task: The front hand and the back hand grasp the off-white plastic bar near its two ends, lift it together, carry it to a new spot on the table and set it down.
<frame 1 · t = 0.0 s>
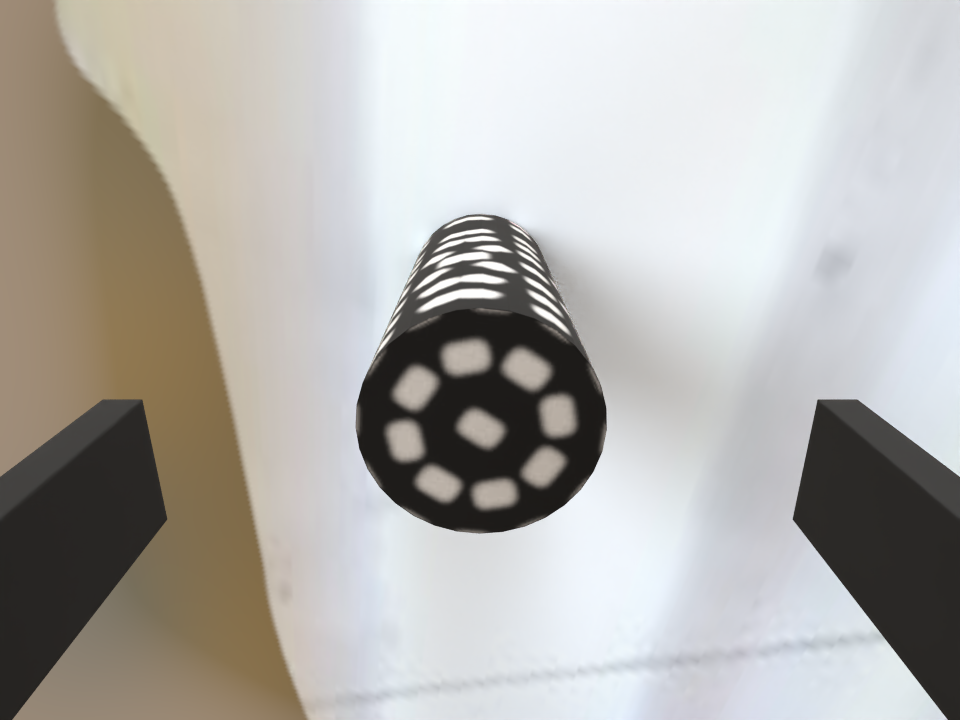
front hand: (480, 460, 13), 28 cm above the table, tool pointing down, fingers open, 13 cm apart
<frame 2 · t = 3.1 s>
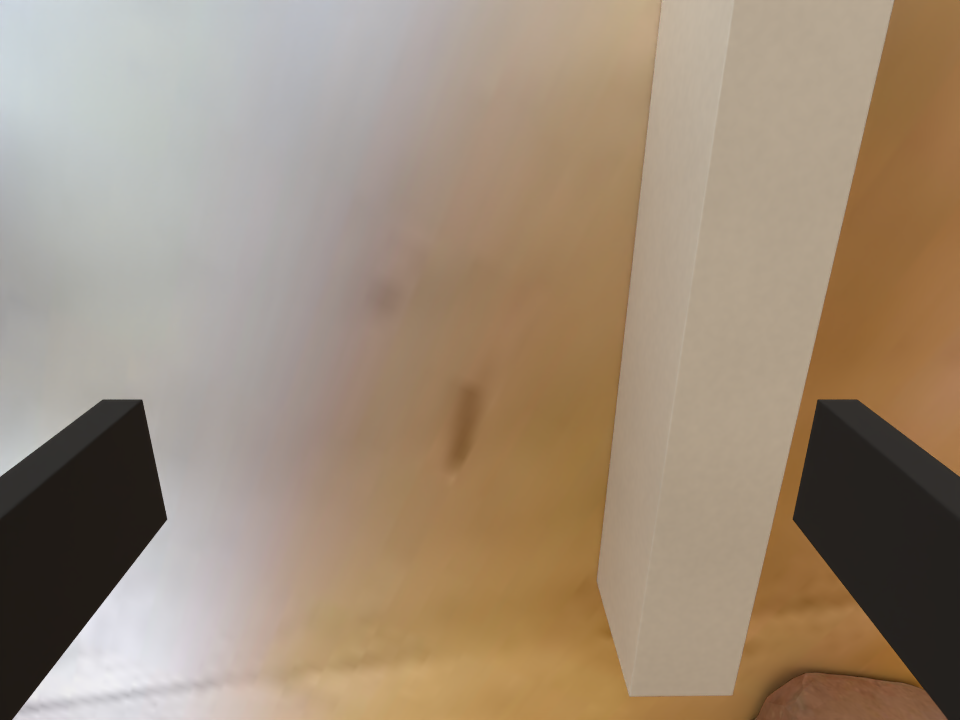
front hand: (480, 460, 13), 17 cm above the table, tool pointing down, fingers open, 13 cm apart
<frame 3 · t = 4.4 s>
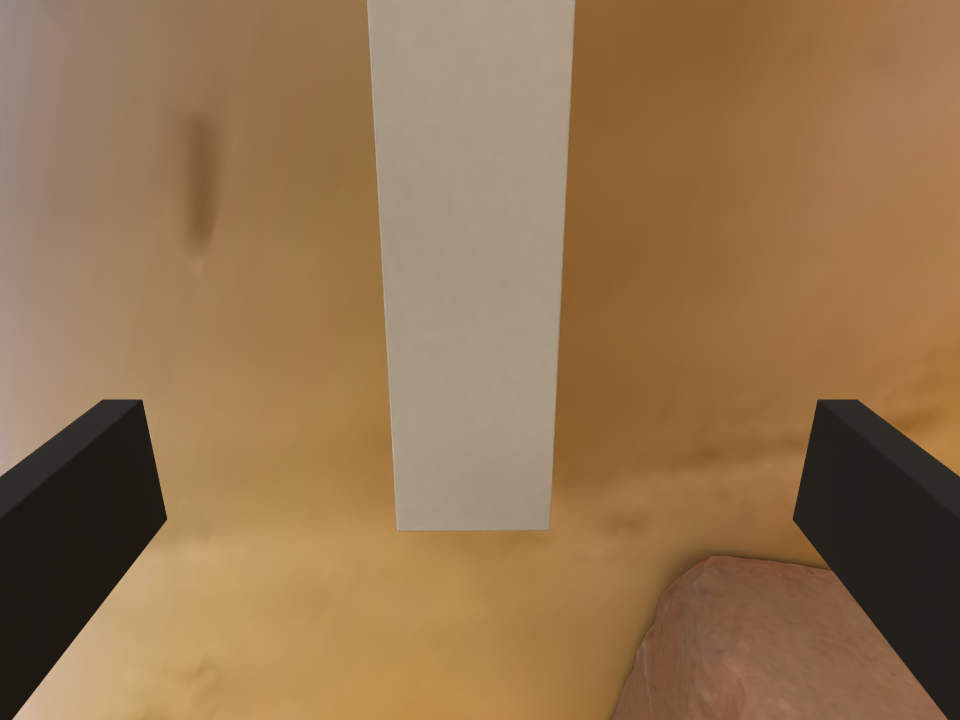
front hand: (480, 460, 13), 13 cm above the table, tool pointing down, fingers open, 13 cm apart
stone: (711, 710, 32), on the table
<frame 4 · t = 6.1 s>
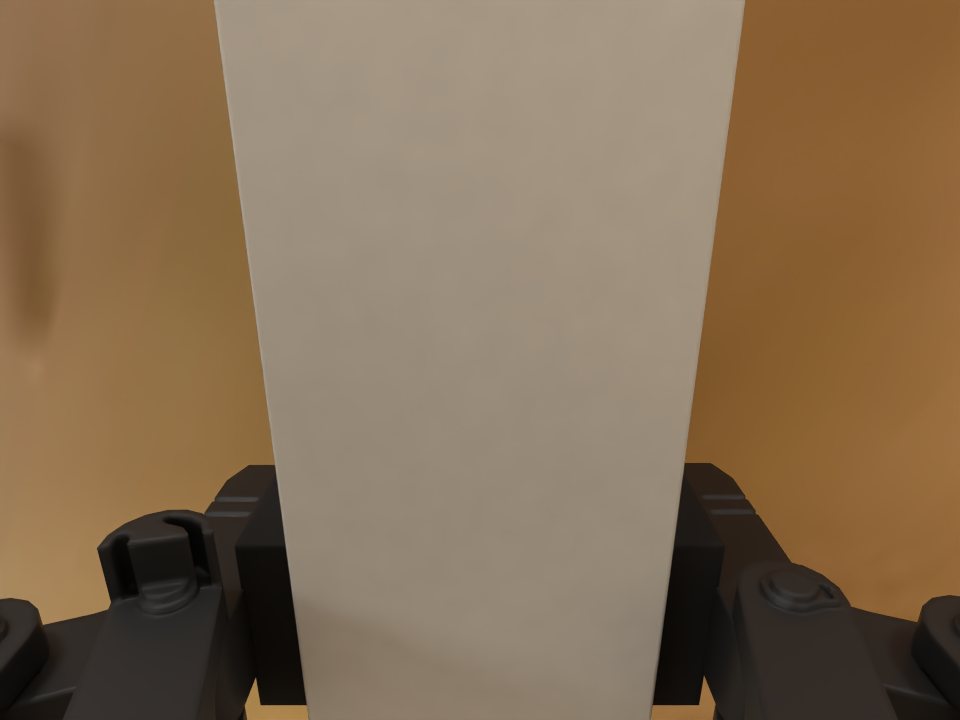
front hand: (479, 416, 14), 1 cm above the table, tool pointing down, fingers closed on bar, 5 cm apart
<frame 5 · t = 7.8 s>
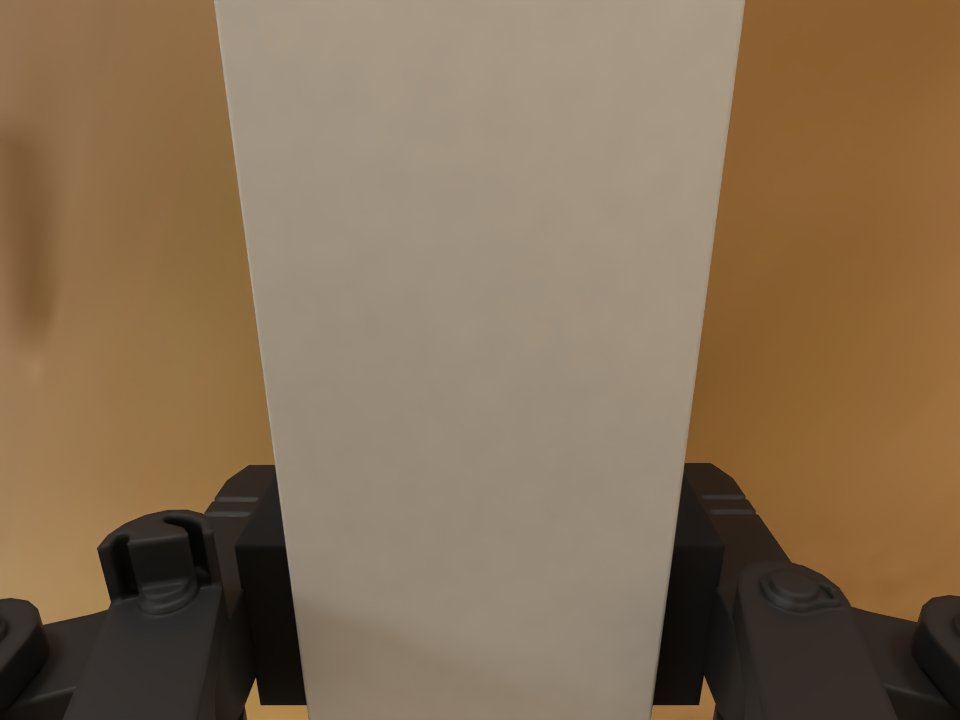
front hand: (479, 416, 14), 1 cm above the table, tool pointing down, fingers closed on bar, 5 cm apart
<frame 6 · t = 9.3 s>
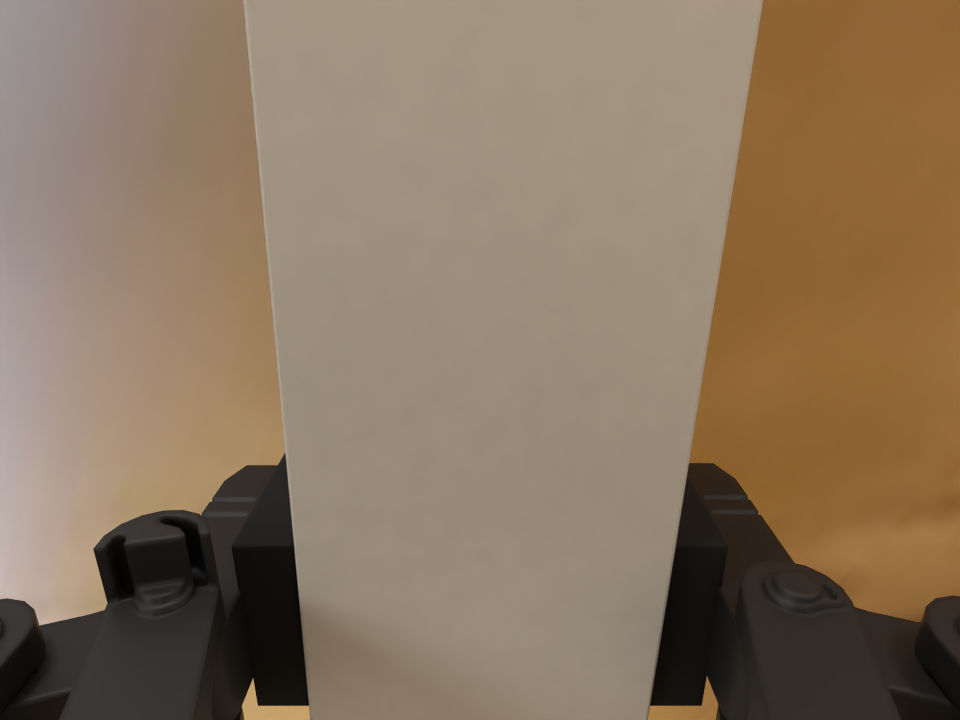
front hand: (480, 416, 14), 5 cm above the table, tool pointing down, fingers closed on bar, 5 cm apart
when the front hand's fingers open (2 cm above the table, at t = 10.7 s): bar drops 1 cm, on the table.
when the back hand's fingers open (4 cm above the table, at t = 10.9 s): bar stays where it is, on the table.
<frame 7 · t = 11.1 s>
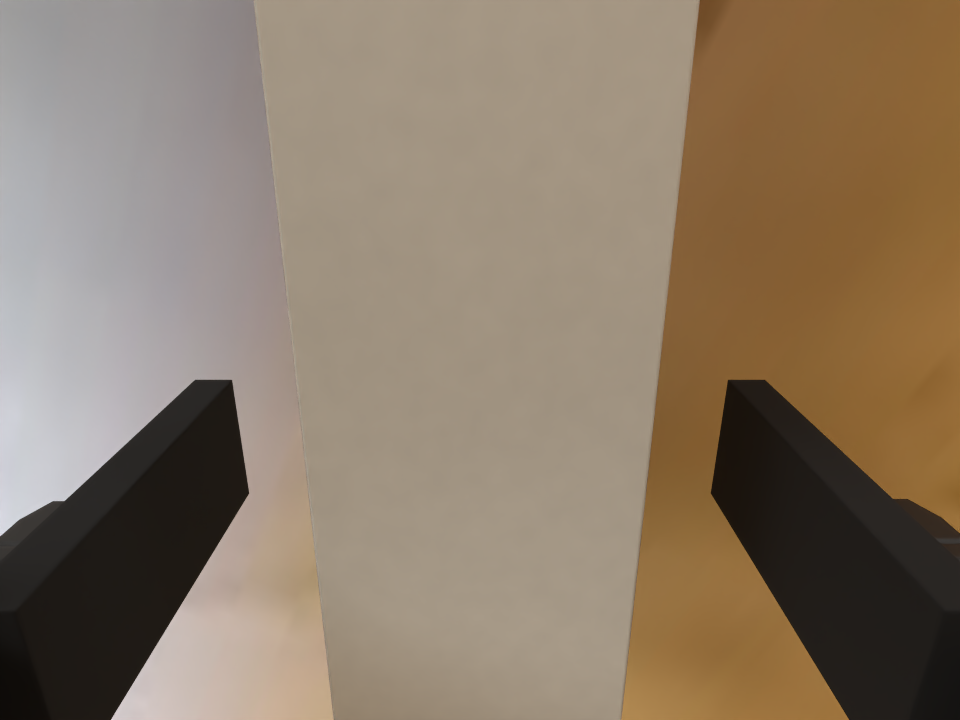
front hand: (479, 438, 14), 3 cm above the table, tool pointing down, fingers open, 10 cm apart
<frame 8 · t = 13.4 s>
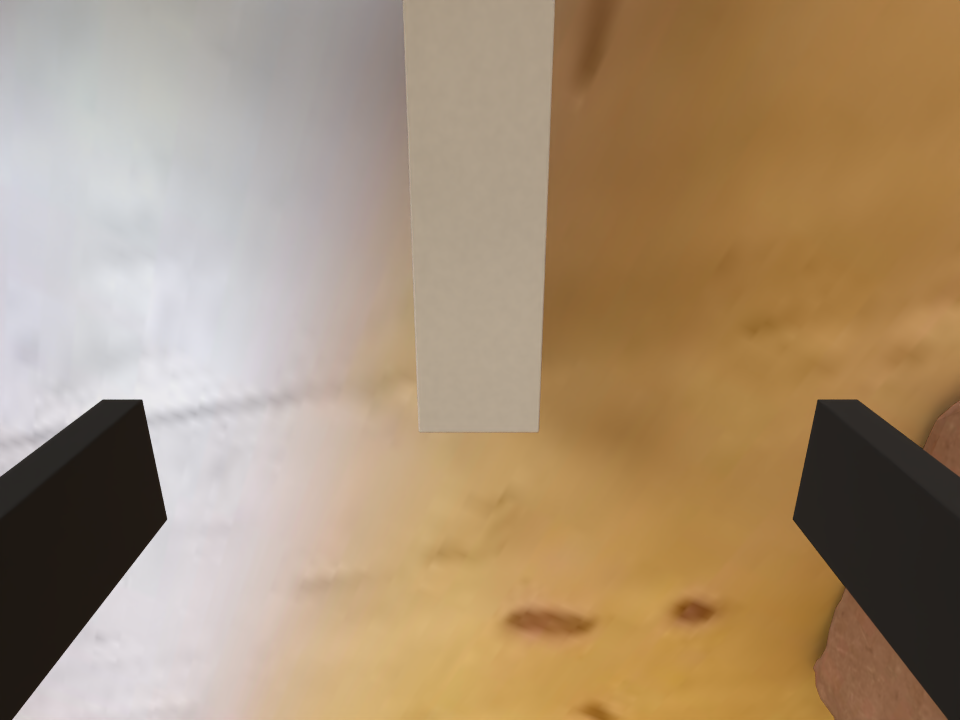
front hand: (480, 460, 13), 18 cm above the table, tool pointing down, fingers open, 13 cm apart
stone: (954, 543, 36), on the table
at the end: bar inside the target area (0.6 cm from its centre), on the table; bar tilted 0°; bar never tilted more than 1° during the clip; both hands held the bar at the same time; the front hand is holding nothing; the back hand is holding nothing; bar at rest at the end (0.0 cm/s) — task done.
